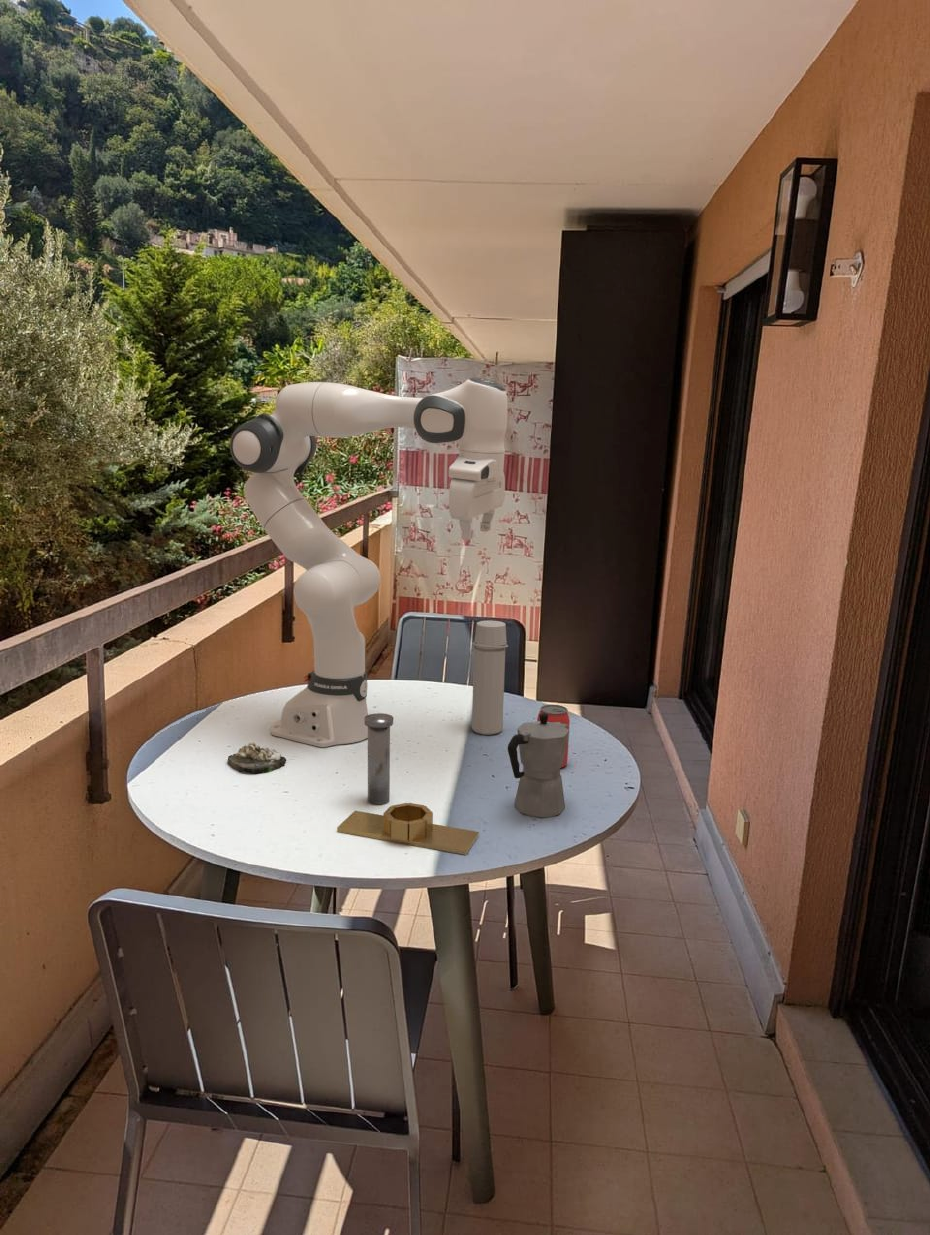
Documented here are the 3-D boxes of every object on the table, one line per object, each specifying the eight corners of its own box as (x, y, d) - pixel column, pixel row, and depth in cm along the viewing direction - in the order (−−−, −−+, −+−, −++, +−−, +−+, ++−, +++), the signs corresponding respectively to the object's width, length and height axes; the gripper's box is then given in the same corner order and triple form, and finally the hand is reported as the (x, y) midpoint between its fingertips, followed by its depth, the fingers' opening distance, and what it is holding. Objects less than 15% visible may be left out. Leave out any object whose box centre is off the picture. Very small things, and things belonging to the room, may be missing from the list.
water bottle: (498, 738, 193) (502, 629, 187) (465, 733, 195) (468, 625, 190) (510, 725, 201) (514, 620, 196) (478, 720, 204) (482, 617, 198)
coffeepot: (544, 789, 166) (548, 700, 163) (582, 805, 160) (588, 712, 156) (487, 812, 156) (490, 717, 152) (525, 830, 149) (530, 731, 145)
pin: (359, 803, 158) (359, 720, 155) (371, 792, 163) (371, 711, 160) (386, 808, 157) (386, 724, 153) (397, 796, 161) (397, 715, 158)
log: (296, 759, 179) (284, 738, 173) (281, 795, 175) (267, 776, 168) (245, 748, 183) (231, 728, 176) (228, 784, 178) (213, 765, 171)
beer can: (565, 771, 175) (568, 715, 173) (533, 768, 176) (535, 712, 174) (568, 759, 182) (571, 705, 179) (537, 756, 183) (539, 702, 180)
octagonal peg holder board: (336, 832, 147) (336, 811, 146) (355, 813, 154) (355, 793, 153) (465, 856, 140) (465, 834, 139) (479, 835, 147) (480, 814, 146)
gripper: (486, 458, 179) (481, 524, 183) (444, 469, 161) (440, 542, 165) (514, 461, 176) (509, 528, 181) (476, 473, 158) (471, 546, 163)
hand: (476, 535), depth 173 cm, fingers open, 8 cm apart
